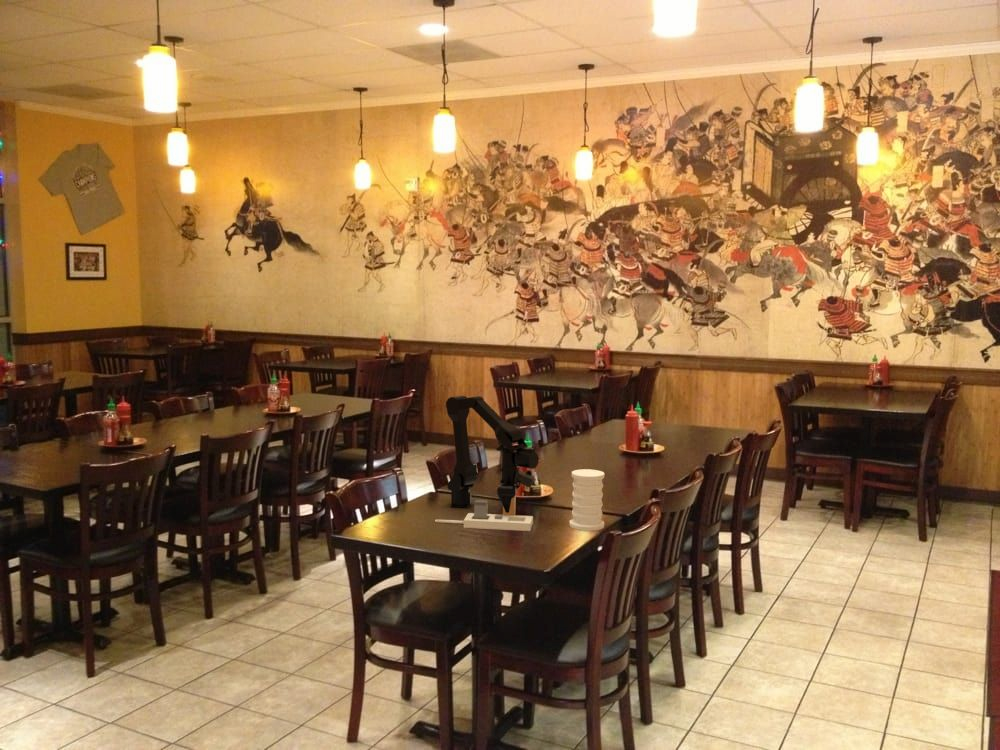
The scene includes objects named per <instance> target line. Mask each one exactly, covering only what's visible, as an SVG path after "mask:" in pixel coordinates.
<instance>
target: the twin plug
mask: <svg viewBox="0 0 1000 750" xmlns="http://www.w3.org/2000/svg"><path fill="white" fill-rule="evenodd" d="M473 504H474V505H473V507H474V508H473V513H474V519H486V520H487V514H488V512H489V511H488V510H489V508H488V500H486V499H485V500H483V499H475V500H474V503H473Z"/></svg>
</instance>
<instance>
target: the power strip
mask: <svg viewBox="0 0 1000 750" xmlns="http://www.w3.org/2000/svg"><path fill="white" fill-rule="evenodd" d="M434 521H435V523H437V524H438V523H439V524H440V523H441V524H458V525H459V524H460V525H462V524H463V528H464V529H483V530H485V529H486V530H498V531H499V530H502V531H503V530H504V531H521V532H530V531H531V530H532V527H533V524H534V516H533V515H516V514H515V515H503V514H498V513H497V514H496V513H487V520H486V519H474V512H468V513H467V515H466V516H465V517H464V519H463V520H456V519H453V520H452V519H435V520H434Z"/></svg>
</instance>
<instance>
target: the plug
mask: <svg viewBox="0 0 1000 750" xmlns="http://www.w3.org/2000/svg"><path fill="white" fill-rule="evenodd" d="M516 495H517V494H516ZM516 495H515V496H514V497H513V498H512V500H511V505H510V510H509V513H506V512H505V509H504V507H503V506H502V515H516V500H517V499H516V497H517V496H516Z"/></svg>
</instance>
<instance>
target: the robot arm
mask: <svg viewBox="0 0 1000 750" xmlns="http://www.w3.org/2000/svg"><path fill="white" fill-rule="evenodd" d="M445 407H446V412H447V415H448V417H449V419H450V420H451V421H452V429H453V439H454V440H453V441H454V449H455V450H454V451H455V459H456V462H455V464H454V467H453V469H452V470H453V471H452V472H453V473H452V475H453V476H452V478H451V479H450V480H449V481H448V482H447V483H446V485H447V486H446V487H447V489H448V491H450V493H451V494H450V495H451V496H450V497H451V501H450V502H451V504H450V505H449V506H450V508H467V509H468V508H469V507H470V505H471V504H472V491H471V488H474V485H475V482H476V481H477V479H478V476H479V473H478V466H477V464H476V463H475V464H473V462H472V460H471V456H470V455H471V454H470V444H469V436H468V424H467V420H468V416H469V414H470V409H473V410H474V412H475V413H476V414H477V415H478V416H479V417H480V418H481V419H482V420H483V421H484V422H485V423H486V424H487V425H488V426H489V427H490V428H491V429H492V430H493V431H494V435H495V438H496V439H497V441H498V442H499V443H500V444H499V446H497V448H496V451H497V452H501V465H500V466H501V468H500V472H501V475H500V485H498V486H497V488H496V495H497V496H498V498H499V500H500V502H501V505H502V508H503V507H504V509H505V512H506V513H509V510H510V505H511V500H512V498H513V497H514V496H515V495H517V490H518V489H519V488H520V486H521V485H523V486H526V487H527V488H531V487H532V485H533V483H534V480H535V475H533V471H532V470H534V469H536V468H537V467H538V464H539V462H540V458H539V455H538V452H536V448H535V447H530V448H529V447H528V445H527V442H526V441H525V440H524V438H523V436H522V432H521V430H520V429H519V428H518V427H516V426H515V425H514V424H512V423H509V422H507V421H505V420H504V419H503V418H502V417H501V416H500V415H499V414H498V413H497V412H496V411H495V410H494V409H493V408H492V407H491V406H490V405H489V404H488V403H487V402H486V401H485V399H484V398H483V396H480V395H476V396H471V397H467V396H465V395H463V394H462V395H457V396H450V397H448V398H447V400H446V401H445ZM520 467H521V468H526V469H527V470H526V471H521V470H520ZM531 469H532V470H531Z"/></svg>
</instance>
